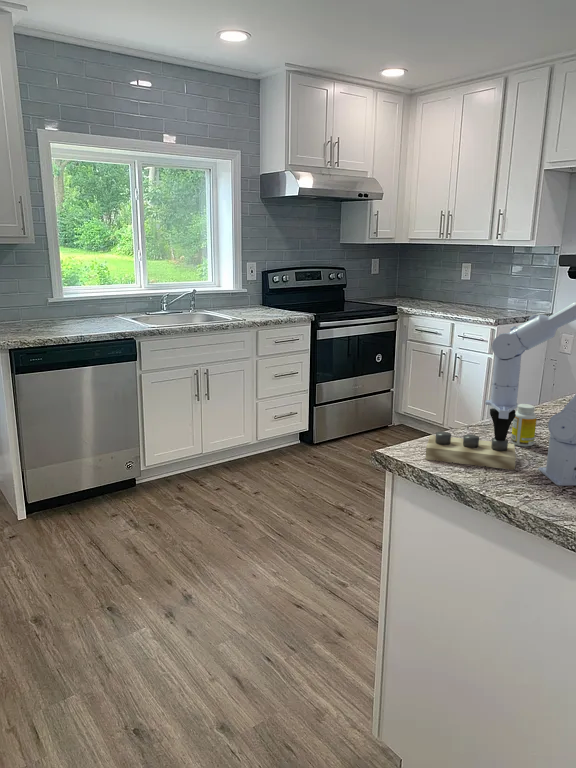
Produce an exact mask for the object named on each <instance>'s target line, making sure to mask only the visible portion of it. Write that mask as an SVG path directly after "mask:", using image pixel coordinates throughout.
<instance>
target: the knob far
mask: <svg viewBox="0 0 576 768" xmlns="http://www.w3.org/2000/svg"><path fill="white" fill-rule="evenodd" d="M435 436H436V440H435V442H436V443H437V444H440V445H449V444H450V443H451V437H452V434H451V433H450V432H447V431H437V432H436V433H435Z"/></svg>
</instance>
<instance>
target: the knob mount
mask: <svg viewBox="0 0 576 768" xmlns="http://www.w3.org/2000/svg"><path fill="white" fill-rule="evenodd" d="M435 440H436V434H434V435H433V434H430V436H429V437H428V441H427V444H426V447H425V460H427V461H435V460H436V462H443V461H444V462H445V463H452V462H453V463H454V464H463V465H470V466H477V465H478V466H479V467H485V466H486V467H487V468H493V469H494V468H496V469H503V470H504V469H505V470H511V471H515V468H516V460H517V456H516V447H515V446H516V445H515V444H513V443H512V442H511V443H510V442H508V448H507V450H506V451H496V450H493V449H492V448H491V445H492V440H491V441H490V440H480V439H479V446H478V447H477V448H468V447H465V446H463V438H461V437H454V436H451V443H450V444H449V445H440V444H437V443H436V442H435ZM444 462H443V463H444ZM453 463H452V464H453ZM478 466H477V467H478ZM486 467H485V468H486Z"/></svg>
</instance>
